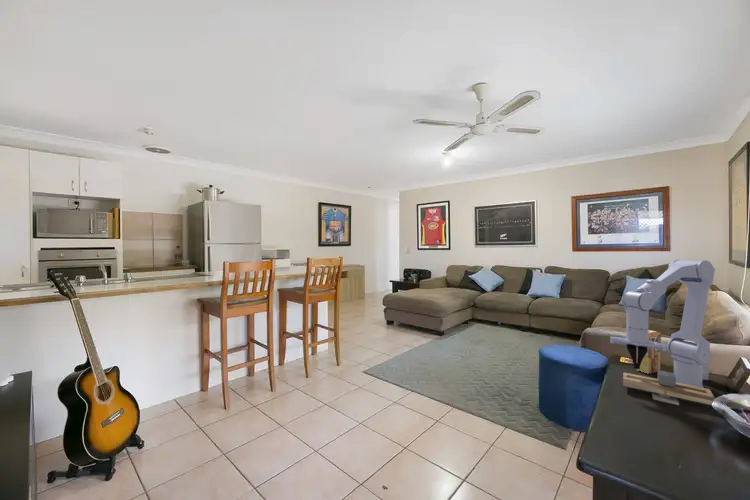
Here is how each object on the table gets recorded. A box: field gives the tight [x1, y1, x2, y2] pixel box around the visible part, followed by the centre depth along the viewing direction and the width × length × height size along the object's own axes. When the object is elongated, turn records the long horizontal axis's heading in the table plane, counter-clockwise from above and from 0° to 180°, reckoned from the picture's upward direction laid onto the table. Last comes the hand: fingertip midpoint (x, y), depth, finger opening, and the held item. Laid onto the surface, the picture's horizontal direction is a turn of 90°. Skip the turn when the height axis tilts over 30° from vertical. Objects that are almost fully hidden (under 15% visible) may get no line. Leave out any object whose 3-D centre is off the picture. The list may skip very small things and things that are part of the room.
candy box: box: [636, 329, 662, 375], centre depth 125 cm, size 9×4×15 cm, turn 116°
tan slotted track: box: [622, 371, 715, 406], centre depth 102 cm, size 9×21×4 cm, turn 51°
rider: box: [656, 369, 676, 387], centre depth 102 cm, size 5×4×4 cm
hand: (636, 368), depth 107 cm, fingers closed
